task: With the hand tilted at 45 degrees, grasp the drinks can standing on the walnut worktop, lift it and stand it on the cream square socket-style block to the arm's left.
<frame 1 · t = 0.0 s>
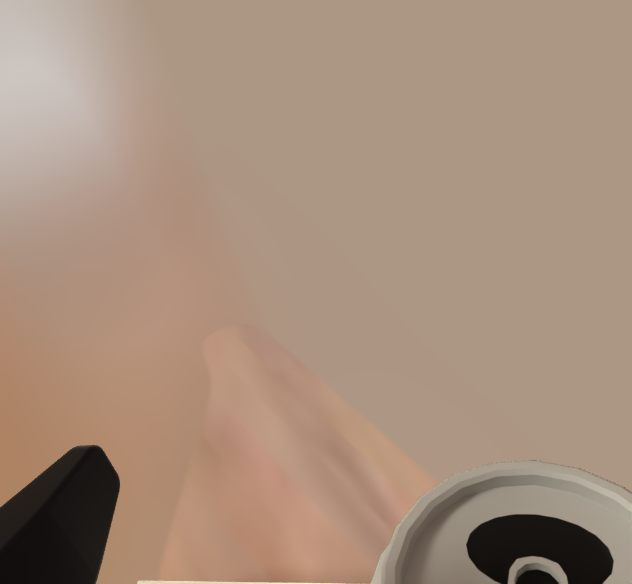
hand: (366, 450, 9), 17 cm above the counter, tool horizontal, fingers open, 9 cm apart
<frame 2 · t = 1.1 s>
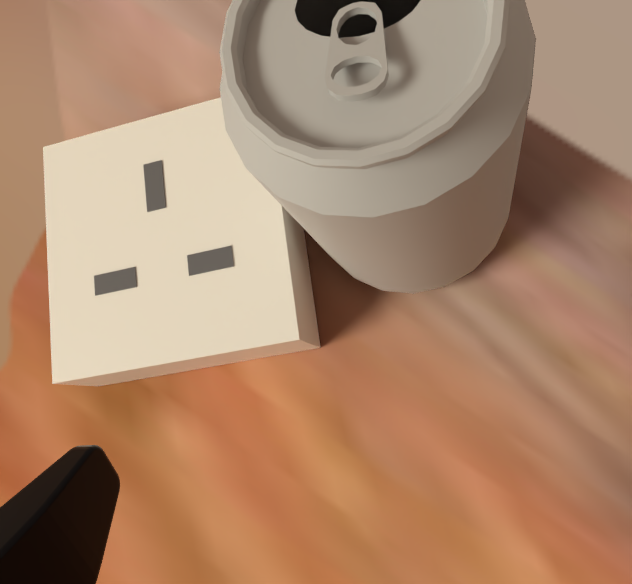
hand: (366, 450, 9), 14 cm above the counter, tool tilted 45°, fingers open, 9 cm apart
socket block: (193, 253, 26), on the counter
can: (412, 206, 24), on the counter
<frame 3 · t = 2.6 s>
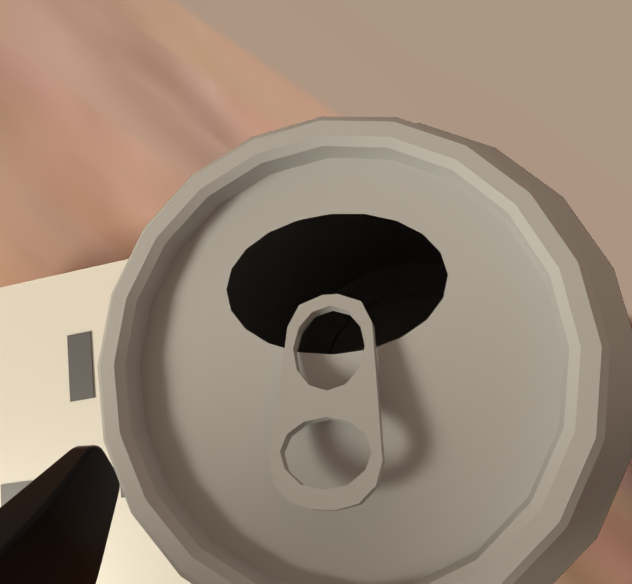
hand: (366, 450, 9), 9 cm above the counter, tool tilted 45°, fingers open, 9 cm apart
socket block: (139, 430, 20), on the counter
can: (417, 388, 18), on the counter
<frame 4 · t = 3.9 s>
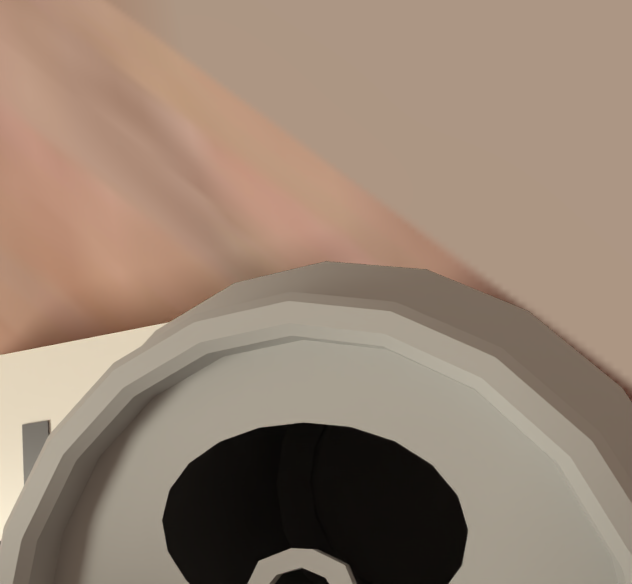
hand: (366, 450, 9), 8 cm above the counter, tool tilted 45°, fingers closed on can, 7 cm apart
socket block: (108, 519, 18), on the counter
can: (419, 481, 16), on the counter, touching gripper
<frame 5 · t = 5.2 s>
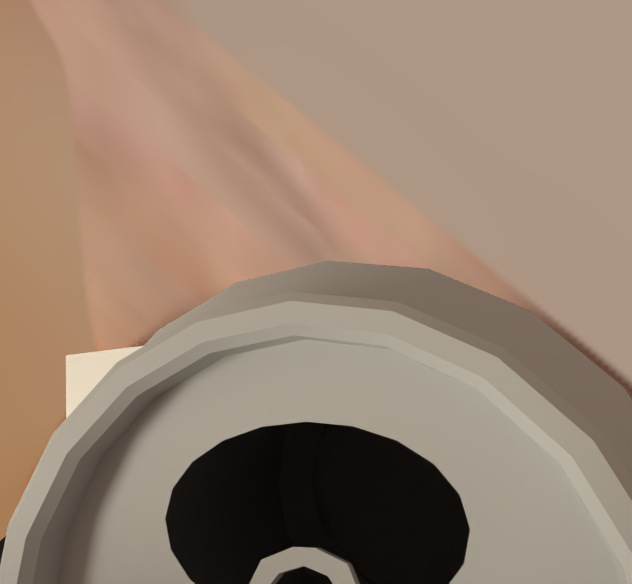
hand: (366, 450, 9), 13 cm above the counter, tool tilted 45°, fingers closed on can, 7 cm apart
socket block: (227, 474, 23), on the counter
can: (421, 479, 16), point 5 cm above the counter, touching gripper
when the fingers open (11 cm above the counter, at t = 6.7 s): can stays where it is, resting on socket block.
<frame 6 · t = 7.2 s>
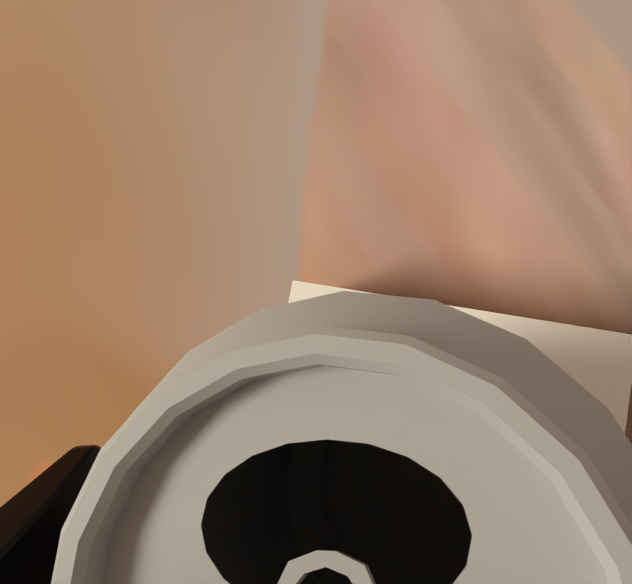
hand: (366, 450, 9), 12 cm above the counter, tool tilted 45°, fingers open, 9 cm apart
socket block: (429, 466, 20), on the counter
can: (423, 483, 17), point 3 cm above the counter, touching socket block
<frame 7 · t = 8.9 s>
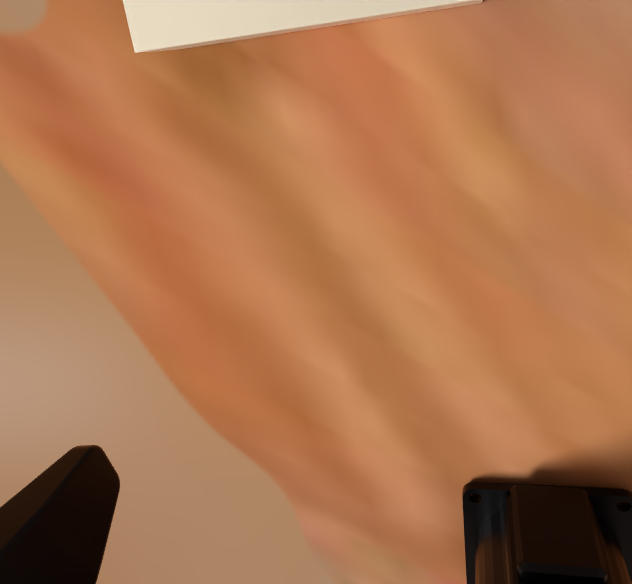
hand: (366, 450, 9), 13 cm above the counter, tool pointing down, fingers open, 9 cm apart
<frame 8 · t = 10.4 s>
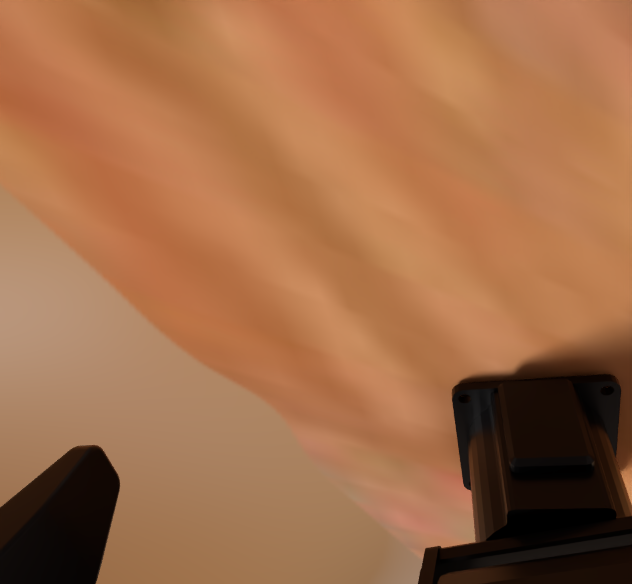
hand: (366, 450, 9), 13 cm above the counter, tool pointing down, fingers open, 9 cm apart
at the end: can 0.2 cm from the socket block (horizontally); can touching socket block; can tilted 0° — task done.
